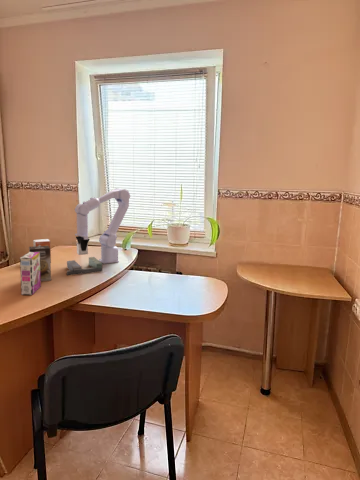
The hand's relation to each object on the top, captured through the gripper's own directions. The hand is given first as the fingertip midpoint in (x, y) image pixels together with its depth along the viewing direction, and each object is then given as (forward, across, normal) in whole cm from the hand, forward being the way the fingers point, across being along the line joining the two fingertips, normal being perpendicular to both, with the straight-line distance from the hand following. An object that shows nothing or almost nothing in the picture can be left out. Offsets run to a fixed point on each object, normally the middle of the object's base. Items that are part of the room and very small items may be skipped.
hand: (82, 249), depth 185 cm
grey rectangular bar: (+9, +8, -7) cm, 14 cm away
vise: (+9, +8, -3) cm, 12 cm away
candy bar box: (+9, +30, -30) cm, 44 cm away
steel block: (+2, 0, 0) cm, 2 cm away
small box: (+9, -14, -19) cm, 25 cm away
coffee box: (+9, +16, -25) cm, 31 cm away
